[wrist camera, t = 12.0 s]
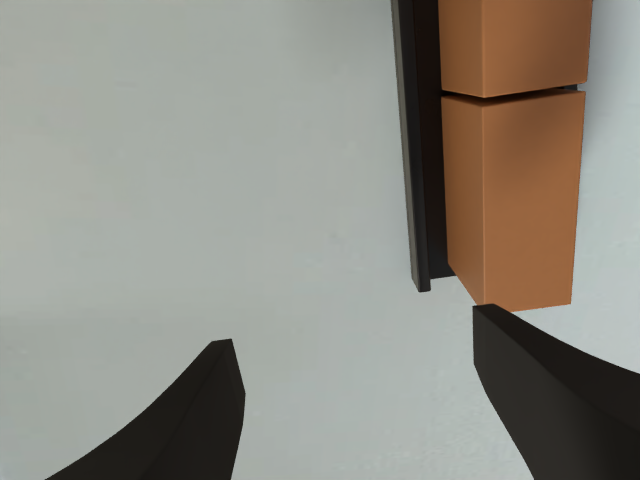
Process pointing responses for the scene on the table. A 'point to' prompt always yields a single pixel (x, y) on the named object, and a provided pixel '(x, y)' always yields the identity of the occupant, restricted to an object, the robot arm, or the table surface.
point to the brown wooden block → (513, 45)
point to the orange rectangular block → (513, 194)
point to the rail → (423, 135)
